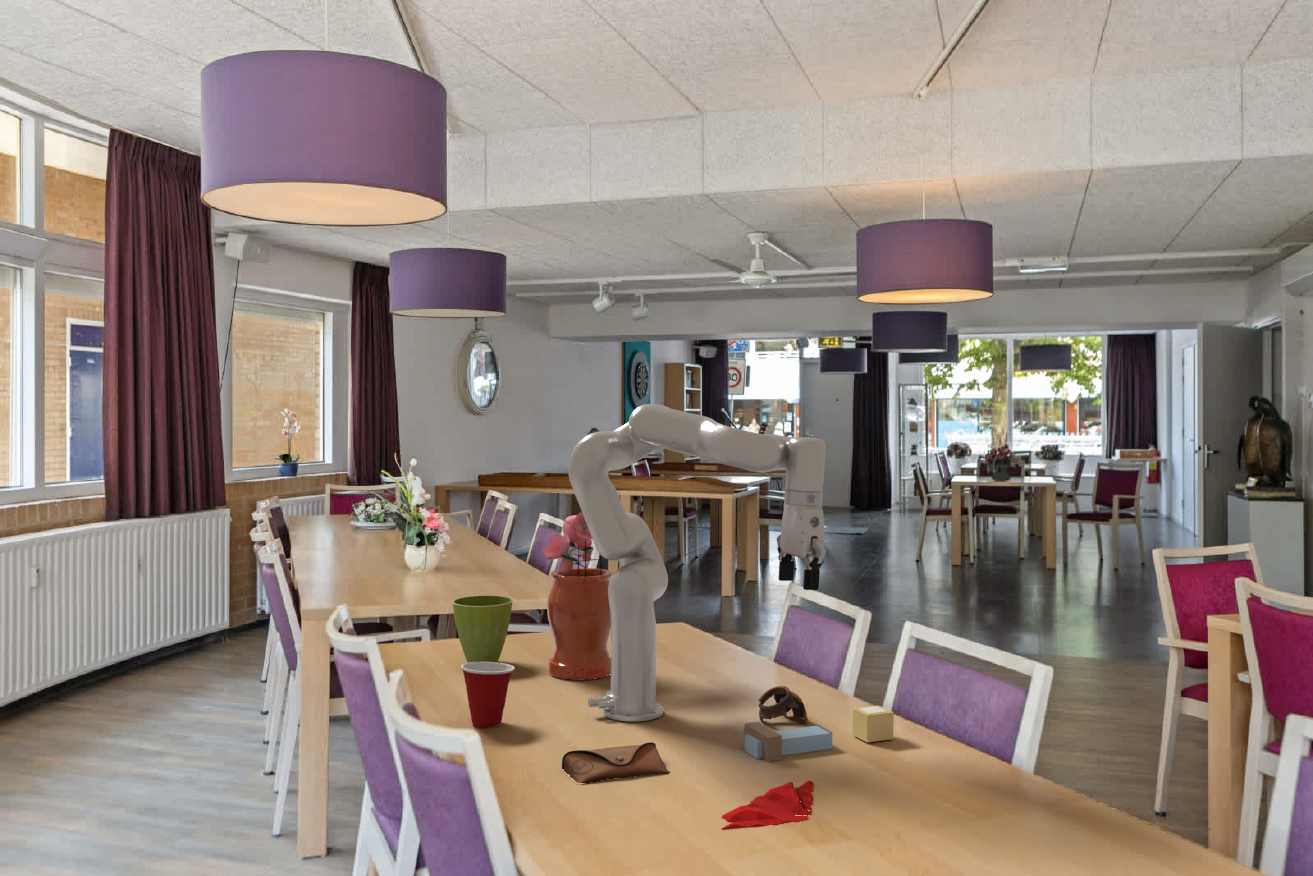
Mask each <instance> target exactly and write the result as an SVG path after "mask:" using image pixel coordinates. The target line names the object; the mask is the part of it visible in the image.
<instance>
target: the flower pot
mask: <svg viewBox="0 0 1313 876" xmlns="http://www.w3.org/2000/svg"><path fill="white" fill-rule="evenodd" d="M512 607H513V598H510V597H507V596H502V595H473V596H472V595H471V596H463V597H459V598H456V599H454V600H453V601H452V609H453V615H454V616H453V617H454V621H455V627H456V631H457V635H458V639H459V642H460V646H461V649H462V651H463V655H464V657H465V660H466V663H471V662H497V663H499V660H500V657H501V655H502V652H503V649H504V645H505V642H506V638H507V635H508V632H509V631H508V630H509V627H510V626H509V625H510V622H511V621H510V620H511V614H512V609H513V608H512Z"/></svg>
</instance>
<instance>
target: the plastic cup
mask: <svg viewBox="0 0 1313 876" xmlns="http://www.w3.org/2000/svg"><path fill="white" fill-rule="evenodd" d="M460 668H461V670H462V673H463V678H464V683H465V689H466V696H467V701H468V702H467V703H468V709H469V710H470V711H469V712H470V713H469V714H470V718H471V719H470V720H471V723H472V726H473V727H475V728H480V729H491V728H496V727H497V725H498V726H500V725H501V724H502V720H503V714H504V708H505V705H506V700H507V694H508V688H509V684H510V680H511V677H512V674H513V672H514V671H515V669H516V668H515V666H514V665H512V664H509V663H504V662H498V663H497V662H471V663H468V662H466V663H463V664H461V665H460ZM500 723H501V724H500ZM499 724H500V725H499ZM495 726H496V727H495ZM490 727H491V728H490Z"/></svg>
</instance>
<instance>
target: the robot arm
mask: <svg viewBox="0 0 1313 876" xmlns="http://www.w3.org/2000/svg"><path fill="white" fill-rule="evenodd" d="M826 447H827V446H826V443H825V441H824V440H823V439H821V438H815V437H805V436H804V437H803V436H799V437H789V436H785V435H780V434H779V435H778V434H774V433H758V432H753V431H750V430H749V431H748V430H744V429H739V428H735V427H733V426H732V427H731V426H727V425H726V424H725V425H724V424H722V423H719V422H717V421H716V420H714V419H713V418H711V417H708V416H705V415H701V414H696V413H691V412H686V411H683V410H678V409H674V408H670V407H669V406H666V405H662V404H656V403H655V404H654V403H645V404H644V403H643V404H642V405H639V406H638V407H636V408H635V409H633V411H632V413H630V415H629V418H628V422H627V423H625V424H624V425H623V424H622V425H621V426H620V427H618V428H617V429H615V430H612V431H610V430H608V431H603V430H602V431H600V430H599V431H594V432H591V433H589V434H588V435H586V436H584V437H583V438H582V439H580V440H579V442H577V444H576V445H575V447H574V448H573V450H572V452H571V455H570V457H569V461H568V468H567V469H568V478H569V482H570V485H571V487H572V488H571V489H572V491H573V493H574V496H575V498H576V500H577V503H578V505H579V508H580V510H581V511H582V513H583V516H584V519H585V521H586V524H587V526H588V529H589V531H590V534H591V536H592V539H591V540H592V542H593V543H594V546H595V549H596V551H597V552H598V554H599V555H601V556H602V558H604V559H605V560H607V561H618V563H619V566H620V567H619V568H618V569H616V570H615V571H614V572H613V573H612V576H611V578H610V579H609V586H608V600H609V607H610V617H611V631H610V656H611V675H610V690H606V691H605V692H606V693H605V694H603V695H601V696H600V697H597V696H595V697H589V698H588V699H587V704H588V705H587V706H588V707H589V708H596V707H597V708H598V709H599V710H602V711H603V712H602V713H603V715H604V716H605V717H607V718H608V719H610V720H613V721H620V722H631V723H632V722H635V723H636V722H647V721H653V720H655V719H659V718H660V717H662V716H663V714H664V708H663V706H662V705H661V704H660V703H657V702H656V701H657V700H656V699H657V695H656V694H657V692H656V691H657V623H656V622H657V620H656V614H655V612H656V611H655V606H654V605H655V604H654V603H655V601H657V600H658V599H660V598H661V597H662V596H663V595H664V593H665V592H666V590H667V588H668V584H669V576H668V572H667V569H666V566H665V563H664V561H663V558H662V555H661V553H660V550H659V548H658V546H657V544H656V541H655V539H654V535H653V534H652V531H651V529H650V528H649V526H648V524H647V523H646V522H645V520H644V519H643V518H642V517H641V516H640V515H638V514H636V513H633V512H627V511H626V510H625V508H624V506H623V503H622V501H621V498H620V495H619V493H618V491H617V489H616V487H615V485H614V484H613V482H612V481H611V480H610V477H609V472H610V471H620V470H623V469H626V468H628V467H629V466H631V465H634V464H635V463H637V462H638V461H640V460H642V459H643V458H644V457H647V456H648V455H651V454H652V453H653V452H655V451H657V450H659V449H663V450H669V451H670V452H671V451H672V452H677V453H679V454H684V455H686V456H691V457H695V458H698V459H701V460H706V461H712V462H715V463H718V464H722V465H725V466H730V467H734V468H738V469H741V470H745V471H749V472H754V473H762V474H764V473H769V472H775V471H776V472H777V471H785V482H784V483H785V485H784V498H783V499H784V500H783V506H784V509H783V514H782V520H781V528H780V534H779V535H778V536H777V537H776V545H777V552H778V558H777V559H778V561H779V563H778V565H779V567H778V581H780V582H792V581H794V576H795V575H794V572H795V560H793V559H794V558H795V557H796V558H801V559H803V563H804V564H805V565H804V566H805V569H804V570H803V585H802V588H803V590H805V591H817V590H819V587H820V574H821V573H820V571H821V570H822V566H823V564H824V562H825V561H824V560H825V556H826V554H827V549H826V548H825V517H824V510H823V496H824V492H823V491H824V482H825V481H824V479H825V466H826V465H825V464H826Z"/></svg>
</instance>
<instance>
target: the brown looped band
mask: <svg viewBox="0 0 1313 876" xmlns="http://www.w3.org/2000/svg"><path fill="white" fill-rule="evenodd" d="M772 697H773V699H774V701H775V704H773V705H769V706H768V705H764V704H765V703H766V702H767V701H768V700H769V699H770V698H772ZM758 702H759V704H758V706H757V707H759V709H758V718H759V720H760V723H761V722H762V723H763V722H764V720H772V719H776V718H779V717H786V718H788V714H787V713H789V712H792V717H793V718H795V719H796V718H802V719H804V724H805V725H806V724H807V725H808V724H809V721H808V715H807V710H806V706H805V704H804V702H803V700H802V698H801V697H800V696H799V695H798V693H796V692H794V691H792V690H791V689H790V688H788V687H787V686H784V685H779V686H775V687H772V688H769V689H768V690H767V691H765V692H764V693H762V695H761V696H760V697H759V699H758Z"/></svg>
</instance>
